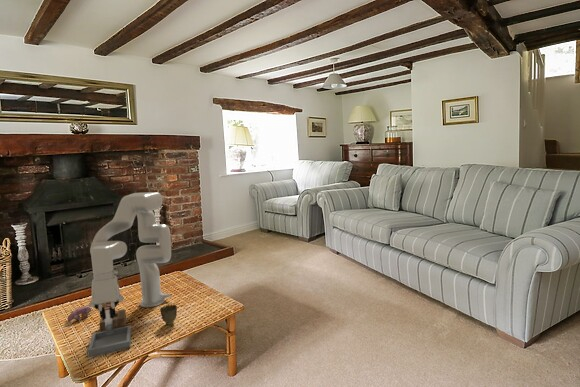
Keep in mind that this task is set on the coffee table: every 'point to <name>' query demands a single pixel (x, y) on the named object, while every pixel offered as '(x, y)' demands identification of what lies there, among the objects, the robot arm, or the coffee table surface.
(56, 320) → the coffee table surface
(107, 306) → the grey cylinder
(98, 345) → the tray
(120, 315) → the hitch block
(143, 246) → the robot arm
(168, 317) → the cup
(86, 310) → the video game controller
